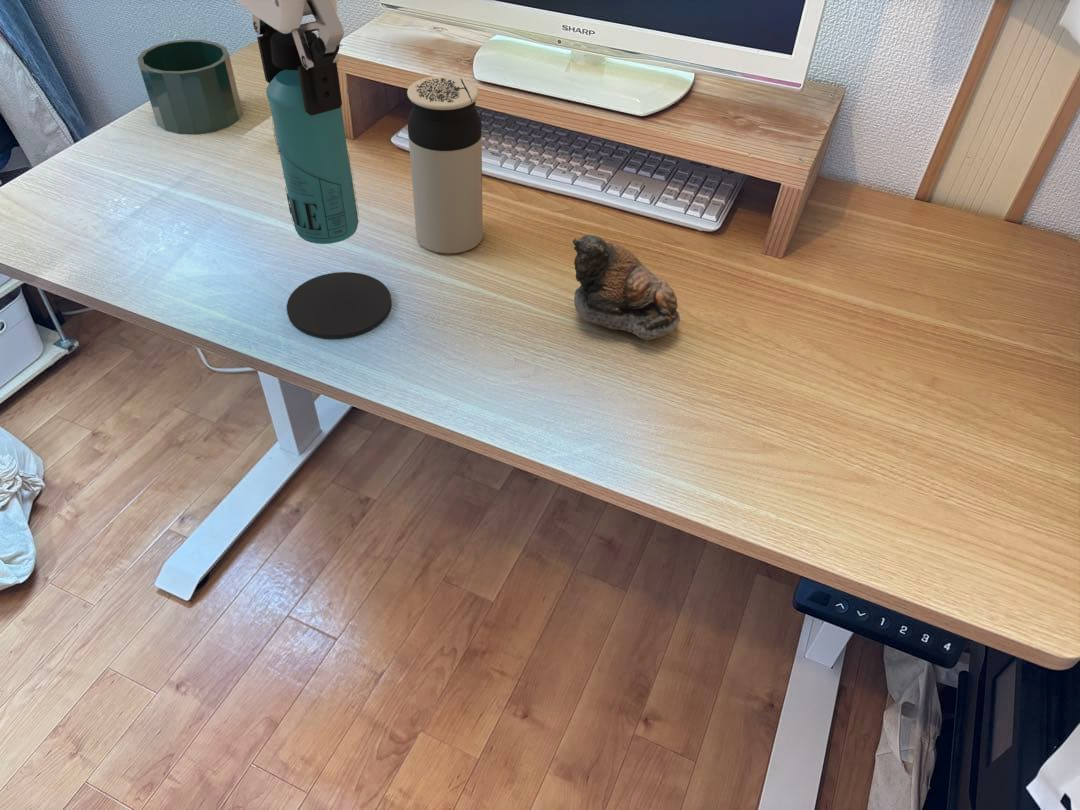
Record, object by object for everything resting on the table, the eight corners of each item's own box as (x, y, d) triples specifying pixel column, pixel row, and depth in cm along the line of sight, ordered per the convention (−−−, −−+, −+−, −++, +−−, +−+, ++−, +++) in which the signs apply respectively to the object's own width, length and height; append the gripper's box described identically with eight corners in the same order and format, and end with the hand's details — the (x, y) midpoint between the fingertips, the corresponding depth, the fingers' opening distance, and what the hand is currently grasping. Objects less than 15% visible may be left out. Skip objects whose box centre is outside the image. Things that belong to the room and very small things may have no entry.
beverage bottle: (369, 225, 82) (343, 22, 68) (352, 262, 77) (320, 52, 63) (307, 220, 82) (269, 16, 68) (286, 256, 77) (240, 45, 63)
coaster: (359, 350, 81) (358, 346, 80) (266, 322, 83) (265, 318, 83) (409, 290, 88) (409, 286, 87) (323, 267, 90) (322, 262, 90)
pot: (211, 152, 108) (191, 79, 101) (142, 135, 110) (118, 63, 103) (260, 118, 116) (245, 48, 108) (195, 103, 118) (176, 34, 111)
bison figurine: (680, 317, 87) (697, 238, 79) (671, 358, 82) (688, 278, 75) (573, 296, 88) (581, 218, 81) (558, 335, 84) (565, 255, 76)
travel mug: (417, 257, 92) (405, 107, 80) (416, 220, 98) (404, 74, 85) (485, 254, 93) (483, 106, 81) (480, 218, 99) (478, 74, 86)
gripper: (163, -170, 59) (220, 70, 72) (267, -120, 50) (312, 145, 63) (257, -178, 63) (296, 53, 75) (371, -132, 54) (393, 121, 66)
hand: (303, 93), depth 69 cm, fingers closed on beverage bottle, 6 cm apart
